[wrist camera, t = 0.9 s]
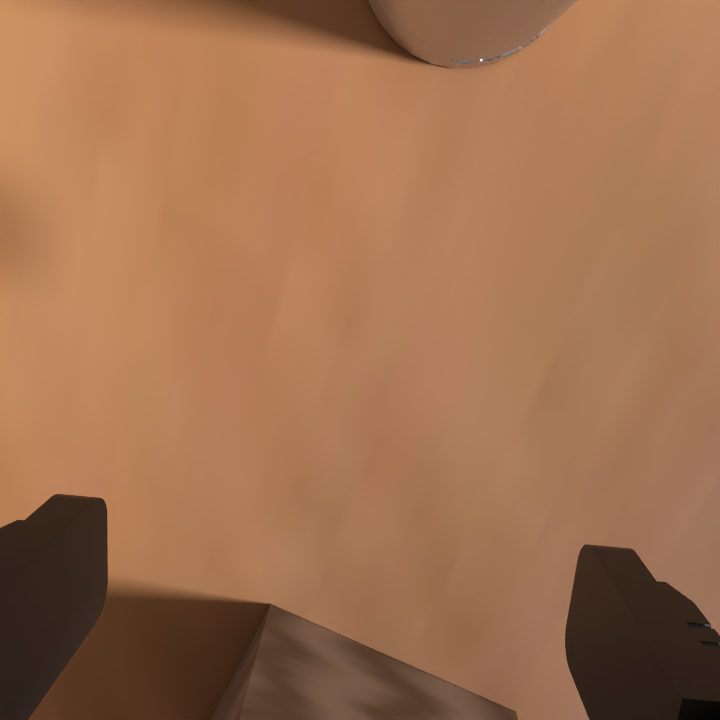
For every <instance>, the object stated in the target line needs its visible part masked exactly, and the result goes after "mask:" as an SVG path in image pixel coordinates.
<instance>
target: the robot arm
mask: <svg viewBox="0 0 720 720" xmlns="http://www.w3.org/2000/svg"><path fill="white" fill-rule="evenodd" d="M576 1H577V0H368V2H369V4H370V6H371V8H372V10H373V12H374V14H375V15H376V17H377V19H378V21H379V23H380V24H381V26H382V27H383V28H384V29H385V30H386V32H387V33H388V34H389V35H390V36H391V38H392V39H393V40H394V41H395V42H396V43H397V44H399V45H400V46H401V47H403V48H404V49H405V50H407V51H408V52H409V53H410V54H412V55H414V56H416V57H418V58H420V59H422V60H424V61H426V62H429V63H431V64H434V65H439V66H444V67H449V68H477V67H481V66H485V65H489V64H493V63H497V62H499V61H501V60H503V59H505V58H507V57H509V56H511V55H513V54H515V53H517V52H518V51H519V50H521V49H522V48H523V47H525V46H527V45H528V44H529V43H530V42H532V41H533V40H535V39H536V38H537V37H538V36H540V35H541V34H542V33H543V32H544V31H545V30H546V29H547V28H548V27H550V26H551V25H552V23H553V22H554V21H555V20H556V19H557V18H558V17H559V16H561V15H562V14H563V13H564V12H565V11H566V10H567V9H568V8H569V7H570V6H572V5H573V4H574V3H575V2H576ZM107 582H108V564H107V508H106V504H105V501H104V500H103V499H102V498H96V497H85V496H75V495H64V494H56V495H53V496H52V497H51V498H50V499H49V500H47V501H46V502H45V503H44V504H43V505H42V506H40V507H39V508H38V509H37V510H36V511H35V512H34V513H32V514H31V515H30V516H29V517H28V518H27V519H25V520H17V521H14V522H12V523H10V524H8V525H6V526H3V527H1V528H0V720H28V719H29V717H30V716H31V715H32V713H33V712H34V710H35V709H36V707H37V706H38V705H39V703H40V702H41V700H42V699H43V697H44V696H45V694H46V693H47V692H48V690H49V689H50V687H51V686H52V684H53V683H54V682H55V680H56V679H57V677H58V676H59V674H60V673H61V672H62V670H63V669H64V667H65V666H66V664H67V663H68V661H69V660H70V659H71V657H72V656H73V654H74V653H75V651H76V650H77V649H78V647H79V646H80V644H81V643H82V641H83V640H84V639H85V637H86V636H87V634H88V633H89V631H90V630H91V629H92V627H93V626H94V624H95V623H96V621H97V620H98V618H99V616H100V613H101V611H102V608H103V605H104V601H105V597H106V592H107ZM565 648H566V657H567V662H568V666H569V669H570V672H571V674H572V677H573V680H574V682H575V685H576V687H577V690H578V692H579V695H580V697H581V700H582V702H583V705H584V707H585V710H586V712H587V715H588V717H589V720H720V636H719V634H718V633H717V632H716V631H715V629H711V624H710V623H709V622H708V620H707V619H706V618H705V616H704V615H703V614H702V613H701V611H700V610H699V609H698V607H697V606H696V605H695V604H694V602H692V601H691V600H690V599H688V598H687V597H685V596H684V595H683V594H681V593H680V592H679V591H677V590H676V589H674V588H673V587H672V586H670V585H669V584H668V583H666V582H658V581H656V580H655V579H654V577H653V576H652V574H651V573H650V572H649V570H648V569H647V568H646V566H645V565H644V563H643V562H642V561H641V559H640V558H639V556H638V555H637V554H636V552H635V551H634V550H632V549H630V548H619V547H608V546H598V545H587V544H586V545H584V546H583V547H582V549H581V551H580V553H579V557H578V562H577V567H576V573H575V579H574V584H573V590H572V596H571V601H570V607H569V613H568V619H567V624H566V633H565Z"/></svg>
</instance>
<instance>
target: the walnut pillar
mask: <svg viewBox="0 0 720 720" xmlns="http://www.w3.org/2000/svg"><path fill="white" fill-rule="evenodd" d="M210 720H518V718H517V714H516V712H514V711H512V710H510V709H508V708H505V707H503V706H501V705H498V704H496V703H494V702H492V701H489V700H487V699H485V698H482V697H480V696H478V695H476V694H473V693H471V692H469V691H467V690H464V689H462V688H460V687H457V686H455V685H453V684H451V683H448V682H446V681H444V680H441V679H439V678H437V677H435V676H432V675H430V674H428V673H426V672H423V671H421V670H419V669H416V668H414V667H412V666H410V665H407V664H405V663H403V662H401V661H398V660H396V659H394V658H391V657H389V656H387V655H385V654H382V653H380V652H378V651H375V650H373V649H371V648H369V647H366V646H364V645H362V644H360V643H357V642H355V641H353V640H350V639H348V638H346V637H344V636H341V635H339V634H337V633H334V632H332V631H330V630H328V629H325V628H323V627H321V626H319V625H316V624H314V623H312V622H309V621H307V620H305V619H303V618H300V617H298V616H296V615H293V614H291V613H289V612H287V611H284V610H282V609H280V608H278V607H275V606H273V605H271V604H270V606H269V608H268V610H267V612H266V614H265V616H264V618H263V620H262V622H261V623H260V625H259V627H258V629H257V631H256V633H255V635H254V637H253V639H252V641H251V642H250V644H249V646H248V648H247V650H246V652H245V654H244V656H243V658H242V659H241V661H240V663H239V665H238V667H237V669H236V671H235V673H234V675H233V677H232V678H231V680H230V682H229V684H228V686H227V688H226V690H225V692H224V694H223V695H222V697H221V699H220V701H219V703H218V705H217V707H216V709H215V711H214V713H213V714H212V716H211V718H210Z"/></svg>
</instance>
